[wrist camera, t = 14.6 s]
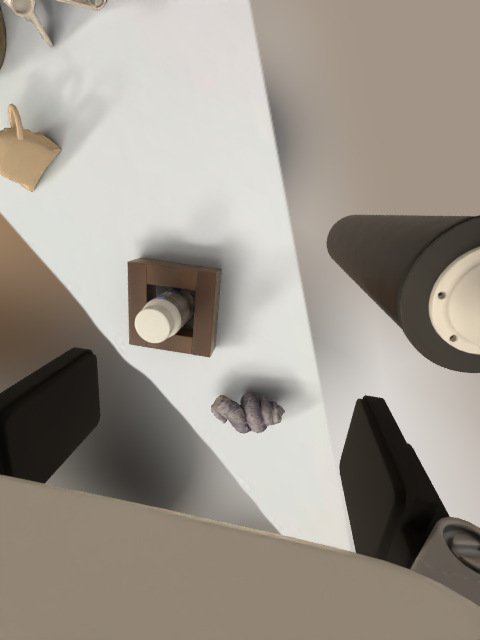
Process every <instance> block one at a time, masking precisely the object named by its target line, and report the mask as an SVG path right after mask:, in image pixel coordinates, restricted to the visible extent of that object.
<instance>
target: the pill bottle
mask: <svg viewBox="0 0 480 640" xmlns="http://www.w3.org/2000/svg"><path fill="white" fill-rule="evenodd" d="M194 306H195V301H194V299H193V297H192V296H191V294H190V293H189V292H188V291H186V290H184V289H180V288H170V289H168V290H166V291H165V292H163V293H162V294H160V295H158V296H157V297H155V298H154V299H152V300H151V301H149V302H148V303H147V304H146V305H145V306H144V307H143V309H142V310H141V311H140V312H139V313H138V314H137V316H136V318H135V328H136V331H137V333H138V334H139V336H140V337H141V338H142V339H144V340H146V341H148V342H150V343H160V342H162V341H164V340H165V339H167V338H169V337H171V336H173V335H175V334H176V333H177V332H178V331H179V330H180V328H181V327H183V325H184V324H185V323H186V322H187V321H188V320H189V319H190V318H191V317H192V315H193V314H194Z"/></svg>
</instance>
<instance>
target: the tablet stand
mask: <svg viewBox="0 0 480 640" xmlns="http://www.w3.org/2000/svg"><path fill="white" fill-rule="evenodd" d="M3 1H4V2H5V3H6V4H7V6H8V7H9V8H10V9H11V10H12V11H13V12H14V14H16V15H17V16H19V17H25V18H26V20H27V21H30V20H31V21H32V22H33V24H34V25H35V26H36V28H37V29H38V31H39V33H40V35H41V36H42V38H43V39H44V40H45V41H46V43H47V44H48V45H49V46H50V47H52V46H53V44H52V43H51V41H50V39H49V37H48V35H47V33H46V32H45V30H44V28H43V26H42V24H41V22H40V21H39V19H38V17H37V15H36V13H35V11H34V10H33V9H34V4H35V1H36V0H3ZM57 1H61V2H65V3H69V4H73V5H77V6H81V7H85V8H89V9H93V10H100V9H102V8H103V7H104V5H105V3H106V0H57Z"/></svg>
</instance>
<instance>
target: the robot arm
mask: <svg viewBox="0 0 480 640" xmlns="http://www.w3.org/2000/svg"><path fill="white" fill-rule="evenodd" d="M440 292H441V294H440V295H438V294H439V293H440ZM429 316H430V319H431V323H432V325H433V327H434V329H435V330H436V332H437V333H438V334H439V335H440V337H441V338H442V339H443V340H445V341H446V342H447V343H448V344H450V345H451V346H453V347H455V348H457V349H459V350H462V351H465V352H468V353H473V354H480V246H479V247H477V248H474V249H472V250H469V251H468V252H466V253H464V254H463V255H461V256H459V257H458V258H457V259H455V260H454V261H453V262H452V263H451V264H449V265H448V266H447V267H446V269H445V270H444V271H443V272H442V273H441V274H440V276H439V277H438V279H437V281H436V282H435V284H434V286H433V289H432V292H431V294H430V300H429ZM99 419H100V405H99V388H98V372H97V358H96V355H94V354H93V352H92V351H91V350H88V349H82V348H76V347H74V348H72V349H70V350H69V351H67V352H65V353H64V354H62V355H61V356H59V357H57V358H56V359H54V360H53V361H51V362H49V363H48V364H46V365H45V366H43V367H42V368H40V369H38V370H37V371H35V372H34V373H32V374H30V375H29V376H27V377H25V378H24V379H23V380H21V381H19V382H17V383H16V384H14V385H13V386H11V387H9V388H8V389H6V390H5V391H3V392H1V393H0V640H480V528H479V527H477V526H475V525H473V524H472V523H470V522H468V521H465V520H462V519H459V518H453V517H450V516H449V515H448V513H447V511H446V509H445V507H444V505H443V503H442V501H441V500H440V498H439V496H438V494H437V492H436V490H435V488H434V487H433V485H432V483H431V481H430V479H429V477H428V475H427V474H426V472H425V470H424V468H423V466H422V464H421V462H420V460H419V459H418V457H417V455H416V453H415V451H414V449H413V448H412V446H411V445H410V444H408V443H407V442H406V441H405V439H404V437H403V435H402V433H401V431H400V429H399V427H398V425H397V423H396V421H395V419H394V418H393V416H392V414H391V412H390V410H389V408H388V406H387V404H386V402H385V400H384V399H383V398H378V397H371V396H366V395H365V396H364V397H363V399H358V400H357V402H356V405H355V408H354V412H353V416H352V419H351V423H350V427H349V430H348V434H347V438H346V442H345V445H344V449H343V452H342V456H341V460H340V476H341V481H342V486H343V491H344V496H345V501H346V506H347V511H348V515H349V520H350V525H351V530H352V535H353V540H354V545H355V550H356V553H354V552H351V551H347V550H343V549H339V548H335V547H330V546H326V545H322V544H317V543H313V542H309V541H305V540H301V539H296V538H292V537H288V536H283V535H279V534H274V533H270V532H265V531H261V530H256V529H252V528H247V527H243V526H238V525H234V524H229V523H225V522H220V521H216V520H211V519H207V518H202V517H198V516H193V515H189V514H184V513H179V512H175V511H170V510H166V509H161V508H156V507H152V506H147V505H143V504H138V503H133V502H128V501H124V500H119V499H115V498H110V497H105V496H101V495H96V494H91V493H86V492H81V491H76V490H72V489H67V488H63V487H58V486H53V485H48V484H45V483H46V481H47V480H48V479H49V478H50V477H51V476H52V475H53V474H54V473H55V471H56V470H57V469H58V468H59V467H60V466H61V465H62V464H63V463H64V462H65V460H66V459H67V458H68V457H69V456H70V455H71V454H72V453H73V451H74V450H75V449H76V448H77V447H78V446H79V445H80V444H81V443H82V441H83V440H84V439H85V438H86V437H87V436H88V435H89V434H90V433H91V431H92V430H93V429H94V428H95V427H96V426H97V424H98V422H99Z"/></svg>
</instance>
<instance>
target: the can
mask: <svg viewBox="0 0 480 640" xmlns="http://www.w3.org/2000/svg"><path fill="white" fill-rule="evenodd" d="M5 49H6V33H5V25H4V20H3V16H2V12H1V9H0V68H1V66H2V63H3V60H4V55H5Z"/></svg>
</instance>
